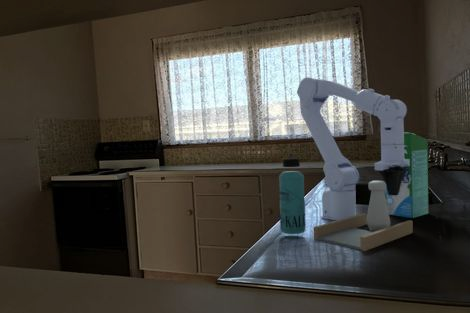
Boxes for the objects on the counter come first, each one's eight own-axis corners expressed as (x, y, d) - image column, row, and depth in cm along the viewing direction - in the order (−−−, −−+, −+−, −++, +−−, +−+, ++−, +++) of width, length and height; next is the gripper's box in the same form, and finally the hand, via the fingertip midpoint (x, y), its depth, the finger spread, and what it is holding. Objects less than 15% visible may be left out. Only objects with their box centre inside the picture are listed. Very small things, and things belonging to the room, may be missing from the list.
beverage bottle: (287, 232, 100) (284, 157, 99) (310, 235, 96) (308, 157, 95) (275, 238, 95) (272, 158, 94) (299, 241, 91) (296, 158, 90)
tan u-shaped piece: (314, 239, 93) (313, 226, 93) (363, 224, 106) (363, 213, 106) (364, 251, 82) (364, 237, 82) (412, 232, 95) (412, 220, 94)
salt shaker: (392, 234, 94) (391, 182, 94) (368, 233, 95) (367, 182, 95) (387, 228, 100) (386, 179, 99) (365, 228, 101) (364, 179, 100)
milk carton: (428, 213, 115) (427, 131, 114) (412, 218, 110) (410, 132, 109) (401, 209, 123) (399, 132, 121) (384, 213, 118) (382, 133, 116)
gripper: (392, 145, 94) (393, 200, 94) (420, 143, 103) (421, 192, 103) (366, 145, 99) (368, 197, 100) (395, 143, 108) (396, 190, 109)
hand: (393, 194), depth 102 cm, fingers closed
